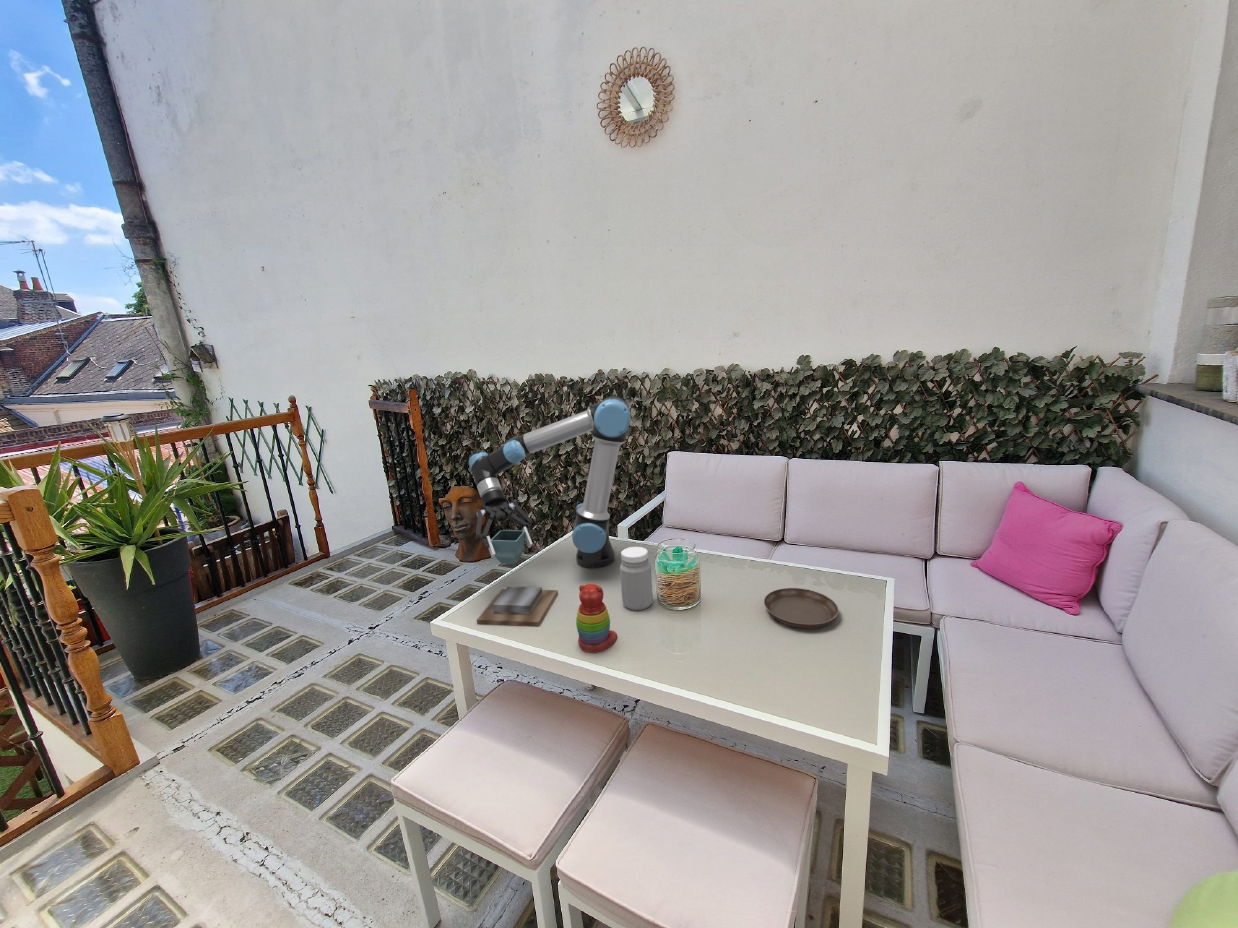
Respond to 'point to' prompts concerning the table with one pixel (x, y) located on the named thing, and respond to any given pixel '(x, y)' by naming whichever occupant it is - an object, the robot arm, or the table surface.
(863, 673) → the table surface
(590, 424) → the robot arm
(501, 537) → the flower pot
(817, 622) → the plant saucer
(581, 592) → the stacking bear
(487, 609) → the build base
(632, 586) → the jar
